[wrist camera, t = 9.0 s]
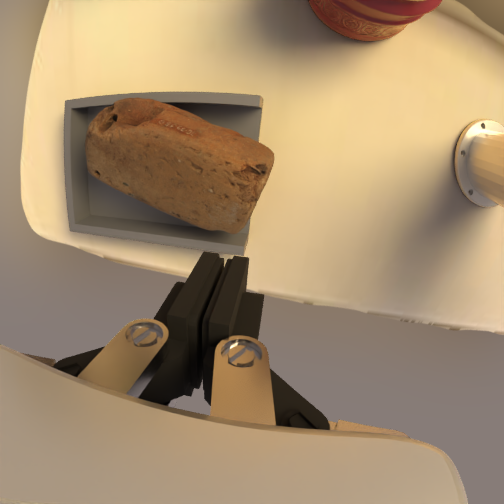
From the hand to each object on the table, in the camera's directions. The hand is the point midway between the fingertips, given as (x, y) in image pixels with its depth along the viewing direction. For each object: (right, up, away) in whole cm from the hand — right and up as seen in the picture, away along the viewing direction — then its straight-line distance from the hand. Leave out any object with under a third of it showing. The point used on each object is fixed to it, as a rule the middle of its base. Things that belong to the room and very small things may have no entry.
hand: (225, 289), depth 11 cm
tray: (-11, +13, +25) cm, 30 cm away
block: (+2, +7, +21) cm, 22 cm away
